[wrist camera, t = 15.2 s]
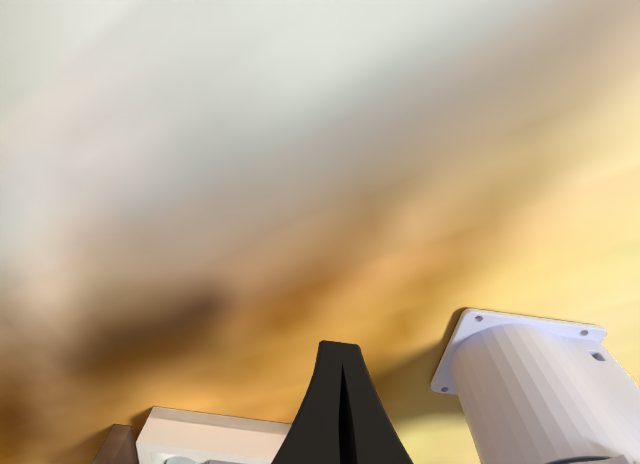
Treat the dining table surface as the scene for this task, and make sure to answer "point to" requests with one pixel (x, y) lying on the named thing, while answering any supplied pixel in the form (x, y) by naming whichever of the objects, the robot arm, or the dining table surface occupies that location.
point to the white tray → (207, 438)
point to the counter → (118, 447)
